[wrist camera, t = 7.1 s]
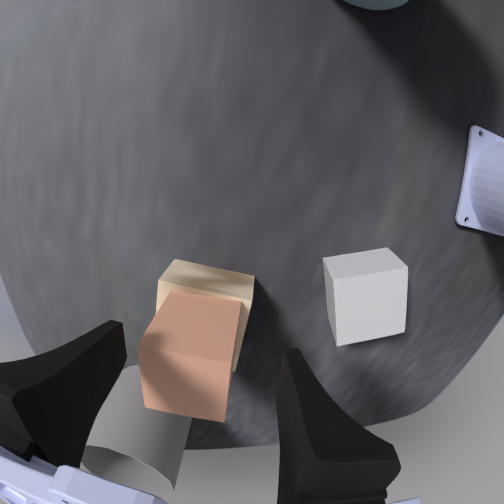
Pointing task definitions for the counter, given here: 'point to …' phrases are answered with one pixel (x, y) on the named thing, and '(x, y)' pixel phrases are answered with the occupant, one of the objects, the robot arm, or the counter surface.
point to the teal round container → (377, 4)
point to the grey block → (365, 295)
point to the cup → (136, 440)
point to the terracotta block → (190, 355)
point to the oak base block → (209, 289)
